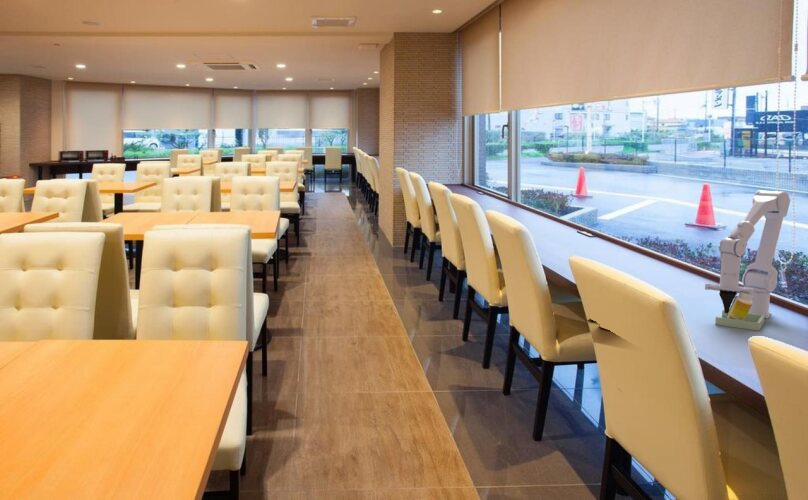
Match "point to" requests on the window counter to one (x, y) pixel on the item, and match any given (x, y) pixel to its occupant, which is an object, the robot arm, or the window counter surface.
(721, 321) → the tray
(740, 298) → the supplement bottle
